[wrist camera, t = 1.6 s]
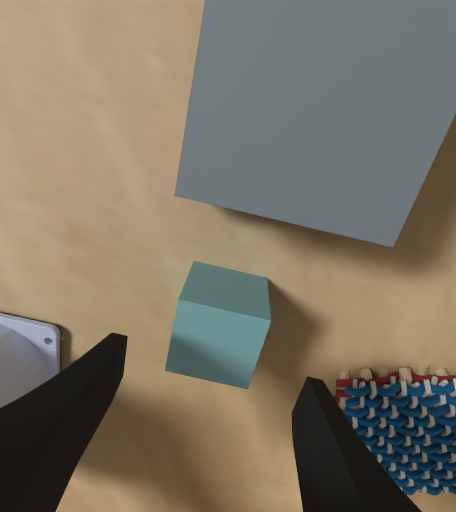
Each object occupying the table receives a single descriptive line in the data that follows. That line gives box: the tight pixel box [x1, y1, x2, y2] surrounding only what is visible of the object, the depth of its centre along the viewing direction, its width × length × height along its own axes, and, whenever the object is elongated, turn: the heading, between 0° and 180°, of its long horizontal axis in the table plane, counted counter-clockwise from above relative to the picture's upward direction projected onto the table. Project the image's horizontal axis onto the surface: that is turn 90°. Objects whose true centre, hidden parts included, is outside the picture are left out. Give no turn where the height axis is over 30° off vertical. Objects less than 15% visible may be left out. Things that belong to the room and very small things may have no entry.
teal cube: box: [165, 261, 271, 389], centre depth 16 cm, size 4×4×4 cm
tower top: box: [175, 0, 456, 247], centre depth 10 cm, size 7×7×3 cm
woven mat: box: [334, 364, 456, 495], centre depth 20 cm, size 10×11×2 cm
